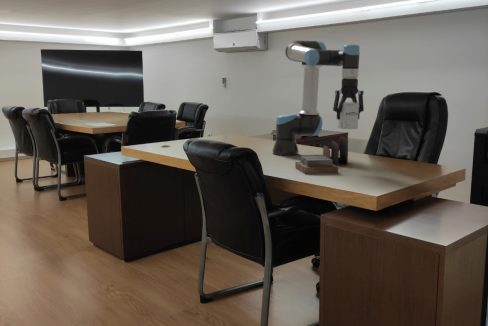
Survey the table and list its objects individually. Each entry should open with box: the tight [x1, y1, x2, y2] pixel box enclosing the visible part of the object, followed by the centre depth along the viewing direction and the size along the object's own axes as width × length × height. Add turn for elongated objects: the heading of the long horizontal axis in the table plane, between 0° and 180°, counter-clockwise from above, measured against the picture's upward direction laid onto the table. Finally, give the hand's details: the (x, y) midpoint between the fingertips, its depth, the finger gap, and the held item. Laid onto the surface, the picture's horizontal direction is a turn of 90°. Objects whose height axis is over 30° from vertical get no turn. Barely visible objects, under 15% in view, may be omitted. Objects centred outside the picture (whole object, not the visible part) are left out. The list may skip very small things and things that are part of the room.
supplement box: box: [337, 101, 359, 130], centre depth 229 cm, size 7×7×13 cm
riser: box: [294, 155, 339, 175], centre depth 228 cm, size 16×16×6 cm
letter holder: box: [322, 135, 349, 167], centre depth 250 cm, size 10×20×14 cm, turn 179°
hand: (347, 126), depth 230 cm, fingers closed on supplement box, 7 cm apart
